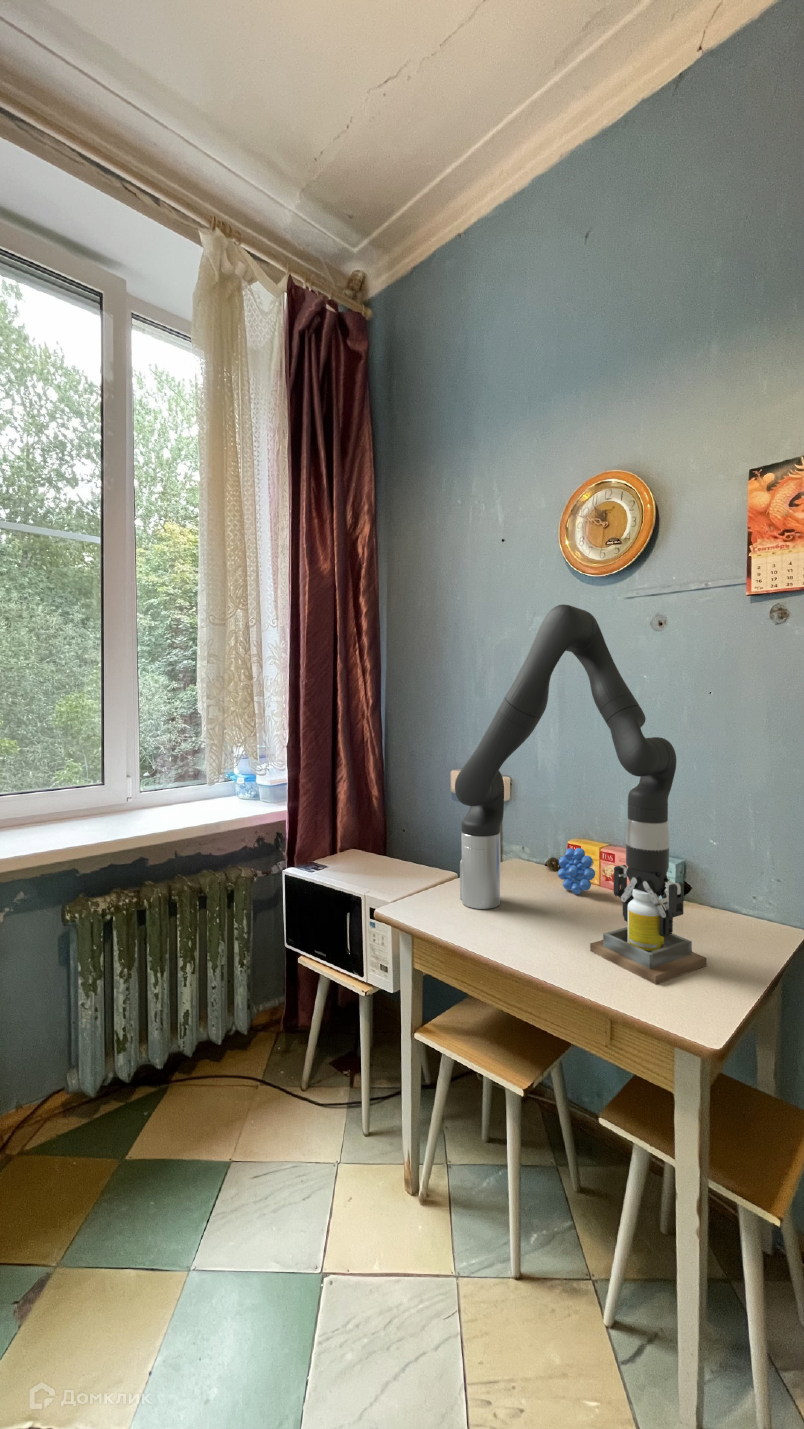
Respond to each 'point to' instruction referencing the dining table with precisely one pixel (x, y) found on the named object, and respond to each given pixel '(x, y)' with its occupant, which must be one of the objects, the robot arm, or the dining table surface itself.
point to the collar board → (649, 956)
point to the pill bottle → (644, 923)
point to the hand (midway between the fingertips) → (646, 928)
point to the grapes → (576, 870)
